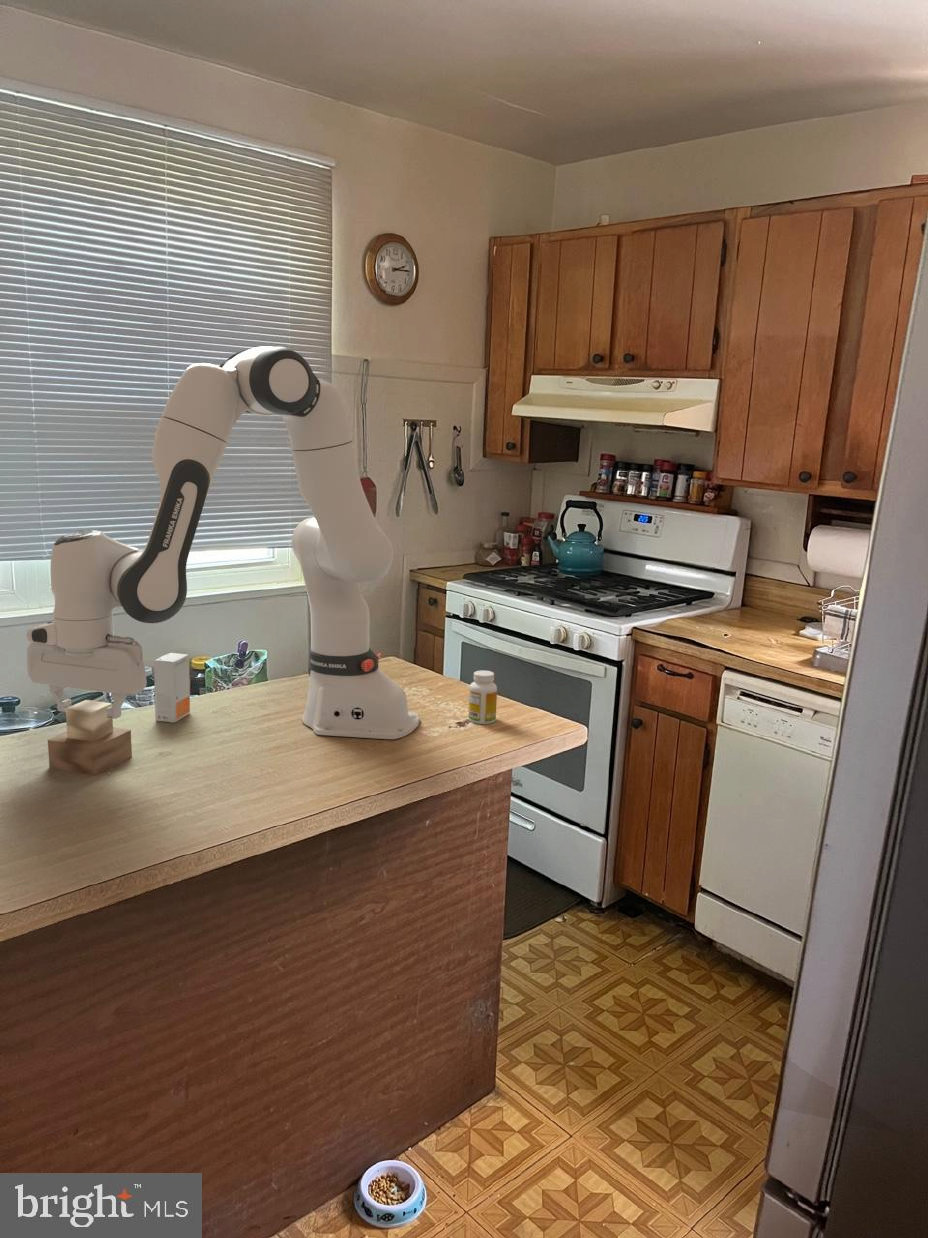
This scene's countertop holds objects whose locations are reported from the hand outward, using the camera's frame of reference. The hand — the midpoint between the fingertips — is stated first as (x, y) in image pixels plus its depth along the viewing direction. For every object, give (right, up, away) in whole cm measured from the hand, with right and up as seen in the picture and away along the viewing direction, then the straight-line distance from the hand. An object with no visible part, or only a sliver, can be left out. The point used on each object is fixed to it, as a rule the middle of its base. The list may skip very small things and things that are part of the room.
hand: (89, 714), depth 147 cm
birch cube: (0, -4, +1) cm, 4 cm away
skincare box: (+6, -3, +25) cm, 25 cm away
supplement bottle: (+65, -5, +30) cm, 72 cm away
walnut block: (0, -8, +2) cm, 9 cm away
